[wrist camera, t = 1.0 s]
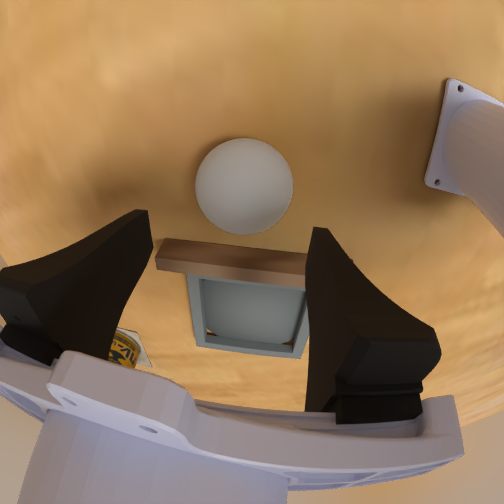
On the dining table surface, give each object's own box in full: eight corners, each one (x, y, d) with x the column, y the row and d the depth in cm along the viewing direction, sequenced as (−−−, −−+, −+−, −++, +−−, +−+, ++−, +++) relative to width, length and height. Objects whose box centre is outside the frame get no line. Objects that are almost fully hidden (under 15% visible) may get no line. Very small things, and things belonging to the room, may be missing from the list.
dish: (324, 272, 23) (325, 283, 22) (300, 348, 30) (300, 358, 29) (190, 256, 24) (185, 267, 23) (199, 335, 30) (196, 346, 29)
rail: (352, 259, 22) (357, 281, 20) (348, 270, 23) (353, 292, 21) (165, 238, 23) (154, 257, 21) (167, 250, 24) (156, 269, 22)
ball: (297, 133, 17) (301, 162, 12) (287, 210, 20) (286, 260, 16) (208, 125, 17) (179, 152, 13) (208, 202, 20) (185, 248, 16)
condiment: (137, 331, 32) (101, 418, 22) (152, 366, 37) (127, 441, 28) (89, 320, 32) (50, 396, 23) (109, 355, 38) (81, 423, 28)
